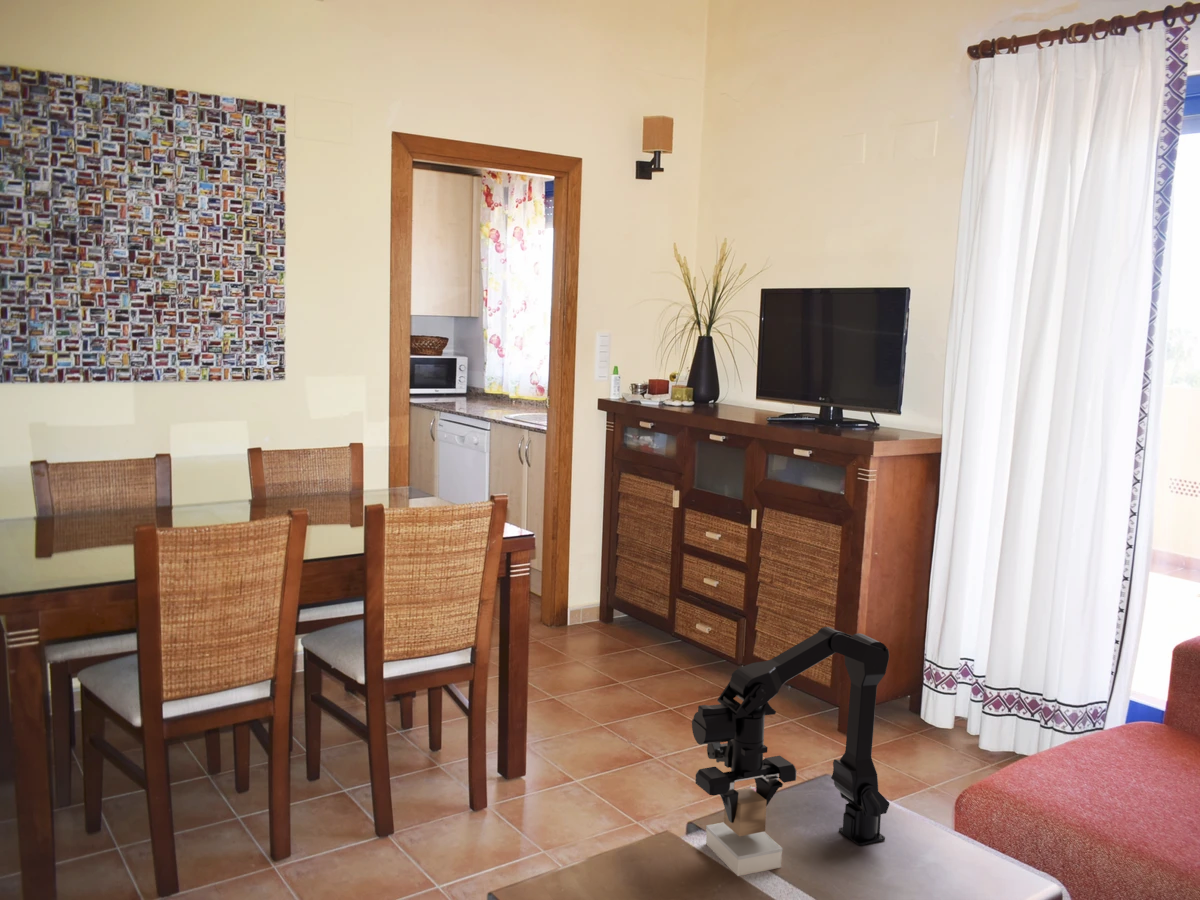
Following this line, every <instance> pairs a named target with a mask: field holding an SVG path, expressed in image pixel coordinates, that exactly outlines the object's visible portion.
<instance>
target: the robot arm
mask: <svg viewBox="0 0 1200 900" xmlns="http://www.w3.org/2000/svg"><path fill="white" fill-rule="evenodd" d="M835 654H840V655H843V656H844V665H845V667H846V671H847V674H848V676H849V679H850V686H849V687H850V689H849V698H848V699H849V702H848V712H847V716H848V717H847V727H846V742H845V751H844V753H843V755H842V756H841V757H840V759H833V762H832V767H833V768H832V770H833V771H832V775H831V777H830V778H831V780H832V781H833V785H834V787H835V788H836V789H837V791H838V792H839V793H840V798H842V799H844V800H845V801H847V802H848V803H845V806H844V808H845V809H844V812H843V815H842V816H843V819H842V820H843V821H842V827H839V828H838V832H840V833H841V834H843V836H845V837H847V838H848V839H849V840H851V841H852V842H853V843H854V844H856V845H857V846H865V845H868V844H874V843H878V842H883V841H885V840H886V836H884V835H883V834H882V833H881V819H882V817H881V816H882V815H884V814H887V812H888V809H889V807H890V802H889V801H888V800H887V799H886V798H885V797H884V795H883V794H881V793H880V791H879V779H878V773H877V769H876V767H875V764H874V761H873V757H872V755H873V753H872V752H873V744H874V743H873V740H874V728H875V715H876V703H877V691H878V690H877V689H878V686H879V683H880V682H881V680H883V678H884V676H885V675H886V672H887V669H888V664H889V660H890V651H889V648H887V646H886V645H885V644H884V643H883V642H881V641H878V640H876V639H875V638H872V637H870V636H868V635H866V634H865V633H864V634H863V633H859V632H858V633H854V634H848V633H845V632H843V631H840V630H837V629H835V628H832V627H830V626H824V627H822V628H820V629H819V630H818V631H817V632H816V633H814V634H813V635H811V636H809V637H807V638H806V639H803V640H802V641H800V642H799V643H797V644H795V645H794V646H792V647H790V648H788V649H786V650H785V651H782V653H780V654H778V655H776V656H774V657H773V658H771V659H768V660H765V661H756V662H751V663H749V664H746V665H744V666H740V667H739V668H737V669H735V670H734V671H733V673H731V678H730V680H729V682H728V683H727V685H726V686H725V688H724V690H722V692H721V694H720V695H719V697H718V698H717V702H718V704H712V705H708V704H702V705H698V706H697V707H698V708H697V711H696V712H695V713H694V715H693V719H691V729H692V735H693V737H694V740H695V742H696V743H697V744H698V745H700V746H701V745H707V746H706V753H707V754H706V755H707V758H708V759H709V760H715V762H716V763H721V762H722V763H724V764H723V765H724V766H725V767H726V768H730V771H725V772H723V770H721V769H719V768H718V767H717V766H709V767H703V768H699V769H698V770H697V771H696V773H695V784H696V785H697V786H698V787H700V789H702V790H703V791H704V792H706V794H708V795H709V796H720V798H721V801H722V803H723V807H724V809H725V810H726V813H727V816H728V820H729V821H730V822H731V823H733V822H734V819H735V815H736V808H737V801H738V795H739V793H738V792H737V791H736V790H737V789H735V784H736V783H737V782H743V781H748V780H754V781H755V788H756V792H757V793H758V794H759V795H761V796H762V797H763V798H765V799H766V800H767V802H766V808H767V806H768V805H769V803H770V801H771V800H772V799H773V798H774V796H775V794H776V793H777V791H778V790H779V789H780V788H783V785H784V783H785V784H786V783H790V782H791V783H792V782H794V781H796V780H797V774H798V773H797V772H798V771H797V768H796V766H795V765H794V764H793V763H792V762H791V761H789V760H787V759H786V758H784V757H783V756H781V755H775V756H770V757H765V758H764V754H765V753H768V746H767V745H766V744H764V741H765V740H764V739H765V720H766V719H765V717H766V716H772V715H775V714H776V713H777V711H776V710H775V709H774V708H772V706H771V705H770V704H769V702H770V701H771V699H773V698H774V697H775V696H776V695H778V693H779V691H780V689H781V688H782V686H783V685H785V684H786V683H787V682H788V681H790V680H791V679H794V677H796V676H798V675H800V674H802V673H803V672H805V671H807V670H809V669H810V668H812V667H813V666H815V665H817V664H819V663H821V662H822V661H824V660H826V659H827V658H829V657H830V656H831V657H832V656H833V655H835ZM736 697H737V698H738V699H740V700H741V701H742V702H741V703H740V702H738V700H736V699H735V698H736ZM725 742H726V743H725Z"/></svg>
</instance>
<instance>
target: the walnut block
mask: <svg viewBox="0 0 1200 900" xmlns="http://www.w3.org/2000/svg"><path fill="white" fill-rule="evenodd" d="M735 790H736V791H737V792H738V793H739V795H738V801H737V808H736V815H735V819H734V822H733V823H731V822H730V821H729V820H728V816H727V813H726V810H725V808H724V809H723V810H724V812H723V822H724V823H725V824H726V825H727V826H728V827H729V828H730V829H732V830H733V831H734V832H735V833H736V834H737V835H738V836H745V835H750V834H754V833H759V832H766V824H767V823H766V822H767V820H766V818H767V807H766V802H767V800H766V799H765V798H763V797H762V796H761V795H759V794H758V793H757V792H755V791H754V790H753V789H751V788H747V787H746V788H741V789H739V788H738V789H735Z"/></svg>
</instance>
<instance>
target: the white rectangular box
mask: <svg viewBox="0 0 1200 900" xmlns="http://www.w3.org/2000/svg"><path fill="white" fill-rule="evenodd" d="M705 830H706V834H705V835H706V837H705V841H706V842H705V844H706V845H707V847H708V848H709V849H710V850H711V851H712V852H713V853H714V854H715V855H716V856H717V857H718V858H719V859H720V860H721V861H722V862H723V863H724V864H725V865H726V866H727V867H728V868H729V869H730V870H731V871H732V872H733V874H735V875H736V876H737V877H739V876H746V875H749V874H755V873H760V872H764V871H770V870H774V869H780V868H782V856H783V855H782V853H783V849H784V848H783V847H782V846H781V845H780V844H778V843H777V842H776V841H775V840H774V839H773V838H771V837H770V836H769V834H767V833H766V831H764V832H759V833H754V834H750V835H745V836H738V835H737V834H736V833H735V832H734V831H733V830H732V829H730V828H729V827H728V826H727V825H726V824H725V823H724V821H723V822H718V823H714V824H713V823H712V824H707V825H705Z"/></svg>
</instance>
